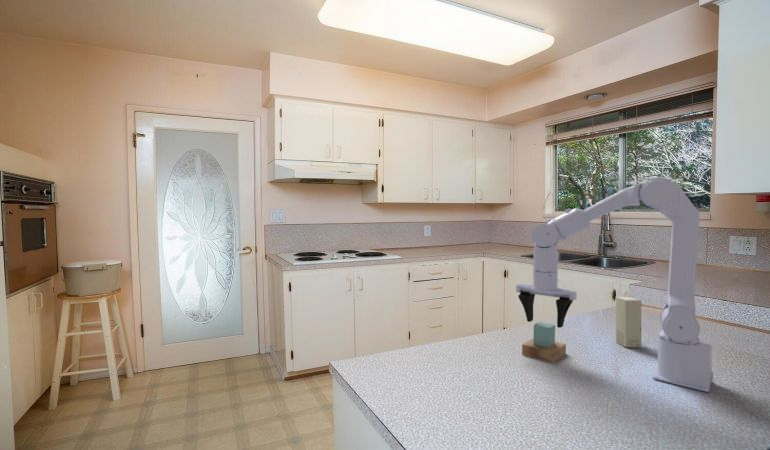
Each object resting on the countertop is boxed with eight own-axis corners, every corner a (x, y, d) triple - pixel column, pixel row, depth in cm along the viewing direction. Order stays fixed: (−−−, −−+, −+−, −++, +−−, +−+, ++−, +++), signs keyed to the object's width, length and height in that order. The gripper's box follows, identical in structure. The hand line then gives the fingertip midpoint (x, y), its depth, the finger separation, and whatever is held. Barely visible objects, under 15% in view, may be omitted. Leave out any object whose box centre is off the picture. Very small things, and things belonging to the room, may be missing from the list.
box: (641, 348, 104) (643, 300, 103) (625, 348, 104) (626, 300, 103) (629, 341, 109) (630, 296, 109) (614, 341, 109) (615, 296, 109)
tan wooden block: (565, 355, 99) (565, 344, 99) (553, 364, 94) (554, 352, 94) (534, 348, 105) (535, 337, 105) (522, 355, 99) (522, 344, 99)
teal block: (554, 343, 100) (555, 324, 99) (549, 347, 97) (549, 328, 96) (539, 340, 102) (539, 321, 102) (533, 344, 99) (533, 324, 99)
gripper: (580, 272, 97) (580, 326, 97) (524, 266, 107) (523, 315, 107) (571, 275, 91) (570, 332, 92) (512, 269, 101) (512, 320, 102)
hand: (544, 323), depth 99 cm, fingers open, 7 cm apart
